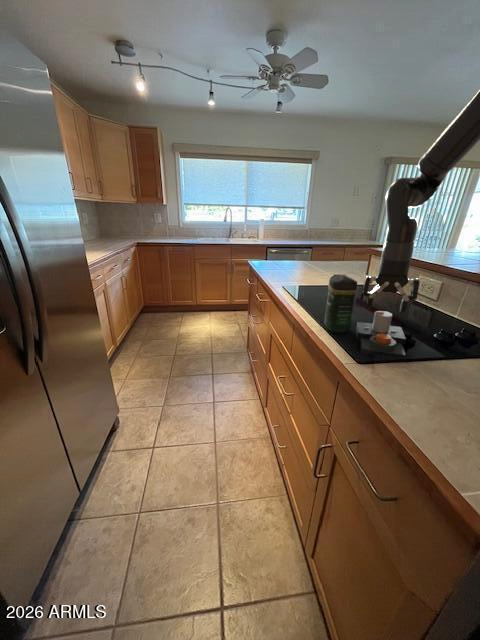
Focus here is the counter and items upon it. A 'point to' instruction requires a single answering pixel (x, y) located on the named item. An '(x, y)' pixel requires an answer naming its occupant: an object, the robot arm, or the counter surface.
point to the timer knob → (381, 321)
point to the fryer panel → (366, 332)
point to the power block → (381, 347)
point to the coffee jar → (340, 303)
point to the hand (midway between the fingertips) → (385, 310)
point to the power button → (383, 338)
